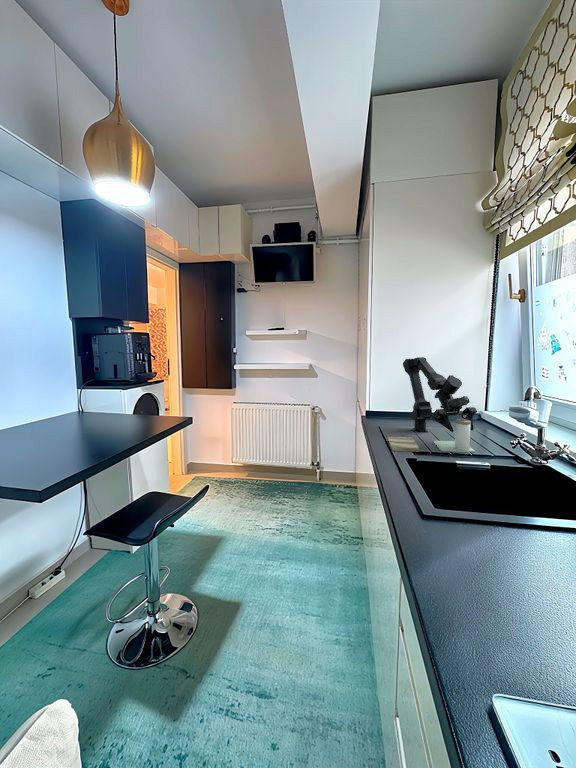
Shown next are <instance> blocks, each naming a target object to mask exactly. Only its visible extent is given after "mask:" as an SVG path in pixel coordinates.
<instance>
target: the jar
mask: <svg viewBox="0 0 576 768" xmlns="http://www.w3.org/2000/svg"><path fill="white" fill-rule="evenodd" d="M454 421H455V422H454V423H455V425H454V441H455V448H456V449H458V450H469V449H470V447H471V445H470V444H471V430H470V426H471V421H470V420H467V419H463V418H457V419H455V420H454Z"/></svg>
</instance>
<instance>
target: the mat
mask: <svg viewBox="0 0 576 768" xmlns="http://www.w3.org/2000/svg"><path fill="white" fill-rule="evenodd" d="M432 442H433V443H434V445H435V446H436V445H437V446H436V447H437V448H438V450H439V451H441V452H452V453H453V452H454V453H455V452H458V453H476V450H475V449H474V448H472V447H471V446H470V449H469V450H458V449H456V448H455V440H451V441H450V440H433V441H432Z"/></svg>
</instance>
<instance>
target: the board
mask: <svg viewBox="0 0 576 768" xmlns="http://www.w3.org/2000/svg"><path fill="white" fill-rule="evenodd" d="M387 441H389V442H388V445H389V447H390V448H391V451H392V452H413V453H414V452H415V453H418V452H419V453H420V449H421V448H420V447H419V445H418V444H417V442H416V440H415V439H414V438H413V437H410V436H409V437H407V436H405V437H404V436H401V437H400V436H387Z"/></svg>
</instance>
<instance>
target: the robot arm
mask: <svg viewBox="0 0 576 768" xmlns="http://www.w3.org/2000/svg"><path fill="white" fill-rule="evenodd" d="M402 367H403V369H404V372H405V373H406V374H407V375H408V376H409V380H410V386H411V389H412V393H413V399H414V403H413V405H412V409H413V410H412V411H411V413H410V414H409V416H410V417H409V418H410V419H411V420H413V423H414V424H413V427H412V428H413V429H412V430H413V432H415V431H419V432H418V433H428V432H429V430H428V429H427V420H431V419H432V421H433V422H435V423H438V424H440V425H442V426H443V427H444V428H446V429H447V430H448V431H449V432H451V433H453V432H455V429H454V428H453V426H452V423H451V421H450V419H449V417H459V416H461V419H467V420H470V421H471V426H470V432H471V431H474V420H473V418H474V416H476V414H477V413H478V410H477V408H476V407H474V406H472V407H471V406H470V407H467V405H468V404H469V403H471V402H470V399H469V397H468V396H467V395H465V396H461V397H456V398H454V397H453V395H455V394H456V393H457V392H458V390H459V389H460V388H461V387H462V386H463V381H462V380H461V379H459V378H458V377H455V375H448V377H447V378H446V377H445V376H444V375H442V374H440V373H438V372H436V370H435V369H434V368H433V367H432V365H431V364H430V363H429V362H428V360H427V358H426V357H424V356H421V357H418V356H417V357H415V358H405V359H404V361H403V362H402ZM420 371H421V373H423V375H424V377H425V378H426V379H427V386H428V387H429V389H430V390H431V391H437V392H435V394H434V399H438V401H439V402H440V408H438V409H435V410H434V411H433V410H432V409H433V408H432V405H431V402H430V401H428V400H427V399H426V398H425V393H424V389H423V386H422V382H421V381H422V380H421V376H420ZM465 406H466V407H465ZM463 407H465V408H464V409H463ZM462 409H463V410H462Z"/></svg>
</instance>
